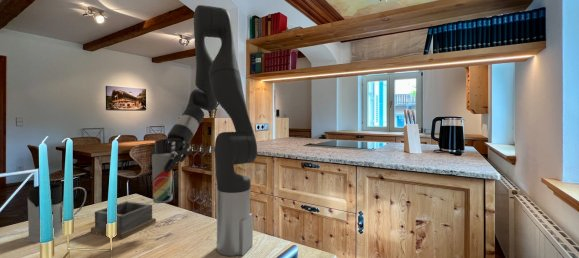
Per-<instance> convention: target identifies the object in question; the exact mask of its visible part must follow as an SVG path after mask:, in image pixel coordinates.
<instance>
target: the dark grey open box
mask: <svg viewBox="0 0 579 258" xmlns="http://www.w3.org/2000/svg"><path fill="white" fill-rule="evenodd" d="M116 205H117V235H116V236H115V237H113V238H114V239H119V240H120V239H121V240H123V239H126V238H127V237H130V236H131V235H134V234H136V233H138V232H140V231H143V230H145V229H146V228H148V227H150V226H153V225H154V224H156V223H157V219H156V218H154V217H153V204H148V203H141V202H135V201H129V200H127V201H123V202H120V203H117V204H116ZM107 208H108V207H105V208H103V209H100V210H99V209H98V210H96V211H94V226H92V227H90V233H91V234H94V233H97V234H96V235H99V234H101V235H100V236H105V235H106V224H107ZM105 237H106V236H105Z"/></svg>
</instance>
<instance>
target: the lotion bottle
mask: <svg viewBox="0 0 579 258" xmlns="http://www.w3.org/2000/svg"><path fill="white" fill-rule="evenodd" d="M154 146H155V153H156V154H153V155H152V157H151V161H152V171H151V172H152V173H151V174H152V177H151V178H152V202H153V203H155V204H165V203H169V202H171V201H172V200H173V169H172V170H171V171H170V172H169V173H168V172H166V171H165V170H164V167H165V165H166V164H167V162H168V161H169V159H171V153H168V152H169V151H168V140H167V138H163V139H158V140H154Z"/></svg>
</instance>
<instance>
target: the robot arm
mask: <svg viewBox="0 0 579 258" xmlns="http://www.w3.org/2000/svg"><path fill="white" fill-rule="evenodd" d="M193 29H194V30H193V36H194V51H195V52H194V53H195V64H196V65H195V66H196V68H195V79H194V81H195V82H194V83H195V87H196V88H195V89H193V90H192V91H191V93H190V95H189V99H188V103H187V105H186V107H185V109H184V111H183V112H182V114H181V116H180V117H179V118H178V119H177V120H176V122H174V124H173V125H172V127H171V129H170V131H169V132H168V133H167V136H166V137H167V138H166V139H167V140H168V151H169V152H168V153H171V159H169V161H168V162H167V164H166V165H165V167H164V170H165V171H166V172H168V173H169V172H170V171H171V170H172V171H173V168H174V167H175V165H176V164H177V163H179V162H180V163H183V162H184V160H186V158H187V157H188V156H189V154H190V153H191V152H192V150H193V147H192V146H191V145H190V142H191V141H192V139H193V137H194V136H195V134H196V132H197V131H198V128H199V126H200V124H201V123H202V121H203V119H204V117H205V112H204V111H203V110H205V111H207V112H212V111H214V110H215V109H216V108H217V106H218V104H219V106H220V107H221V108H222V109H223V110H224V111H225V112H226V114H227V115H228V116H229V118H230V119H231V120H230V121H231V122H232V124H233V129H234V131H223V132H220V133H219V134H218V135H217V136H216V138H215V142H214V159H215V161H214V163H215V181H216V192H217V193H216V251H217V252H218V254H220V255H222V256H228V257H233V256H244V255H245V254H246V253H247V251H249V249H251V248H252V246H253V240H254V239H253V237H254V234H253V231H254V230H253V227H254V224H253V223H254V214H253V213H251V184H252V183H251V178H249V177H248V176H246V175H243V174H238V173H236V172H235V167H234V166H236V165H243V164H244V165H245V164H250V163H253V162H254V161H255V160H256V158H257V155H258V144H257V139H256V135H255V132H254V129H253V126H252V122H251V120H250V116H249V112H248V108H247V104H246V100H245V94H244V89H243V82H242V77H241V73H240V69H239V65H238V64H239V63H238V61H237V60H238V59H237V56H236V51H235V44H234V36H233V35H234V34H233V26H232V19H231V16H230V13H229V11H228V10H227V9H226V8H223V7H217V6H212V5H211V6H210V5H205V4H204V5H203V4H201V5H200V4H199V5H198V4H197V6H196V7H195V9H194V14H193ZM205 38H218V39H220V41H221V42H220V43H221V45H220V47H219V49H218V52H217V54H216V55H215V58H214V59H213V58H212V56H211V54H210V53H209V51H208V48H207V46H206V42H205ZM153 154H156V153H155V145H154V146H153V147H152V150H151V151H150V154H149V157H151V158H152V155H153ZM147 169H148V170H149V171H150V172H152V160H151V161H150V163H148V166H147Z"/></svg>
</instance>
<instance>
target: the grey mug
mask: <svg viewBox="0 0 579 258" xmlns="http://www.w3.org/2000/svg"><path fill="white" fill-rule="evenodd" d="M50 185H51V199H52V212H53V228H54V237H57V238H59V237H61V236H63V235H62V218H63V219H64V203H63V202H64V201H63V193H62V192H63V191H62V190H63V188H62V187H63V186H62V184H59V183H51V184H50ZM39 186H40V185H36V186H31V187H29V188H28V190H27V193H28V194H27V195H28V196H27V218H28V219H27V221H28V222H27V223H28V236H27V238H26V242H29V243H41V242H40V218H39ZM72 189H73V191H75V190H77V189H80V190H83V192H84V200H83V202H82V204H81V205H80V207H79V208H78V209H77V211H76V212H74V213H73V214H74V216H75V215H77V213H79V212H81V210H82V209H83V207H84V205H85V203H86V199H87V190H86V189H85V187H84V188H83V187H80V186H78V187H77V186H76V187H74V188H72ZM62 212H63V214H62ZM60 235H61V236H60ZM58 236H59V237H58Z"/></svg>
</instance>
